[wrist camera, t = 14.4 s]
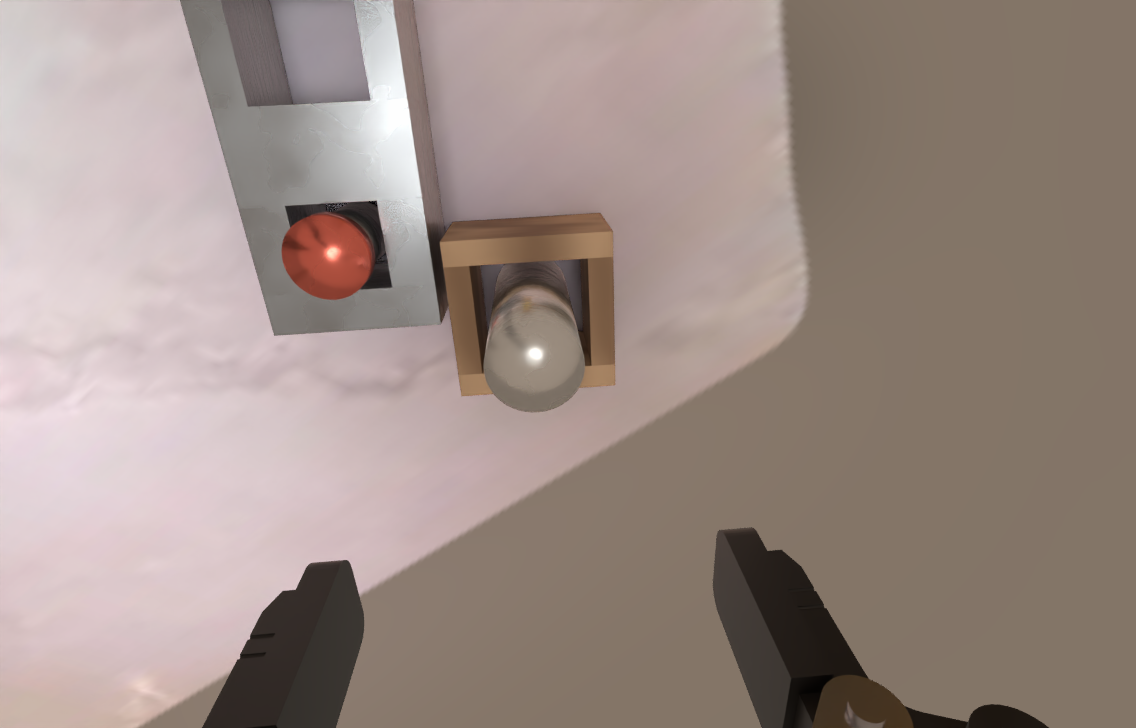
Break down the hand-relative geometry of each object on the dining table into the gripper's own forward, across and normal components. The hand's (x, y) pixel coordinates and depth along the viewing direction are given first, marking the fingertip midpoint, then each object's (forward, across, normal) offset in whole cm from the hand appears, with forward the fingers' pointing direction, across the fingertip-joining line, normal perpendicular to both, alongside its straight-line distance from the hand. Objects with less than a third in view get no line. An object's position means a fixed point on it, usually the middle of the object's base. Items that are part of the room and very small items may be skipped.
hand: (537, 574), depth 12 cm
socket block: (+22, +8, -8) cm, 25 cm away
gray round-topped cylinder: (+22, 0, 0) cm, 22 cm away
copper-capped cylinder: (+21, +8, -4) cm, 23 cm away
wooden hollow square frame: (+22, 0, 0) cm, 22 cm away
